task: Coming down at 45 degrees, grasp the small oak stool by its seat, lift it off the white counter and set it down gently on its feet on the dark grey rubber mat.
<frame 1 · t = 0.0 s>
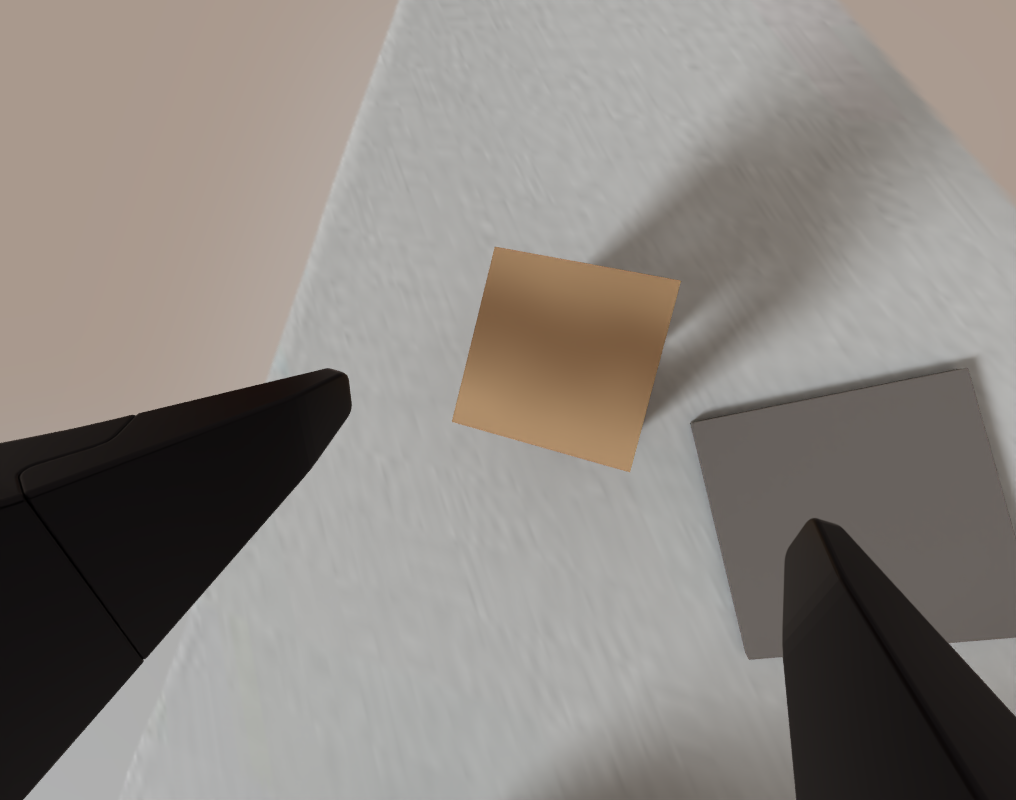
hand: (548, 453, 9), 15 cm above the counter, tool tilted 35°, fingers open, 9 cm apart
stool: (582, 373, 23), on the counter
mat: (846, 517, 21), on the counter
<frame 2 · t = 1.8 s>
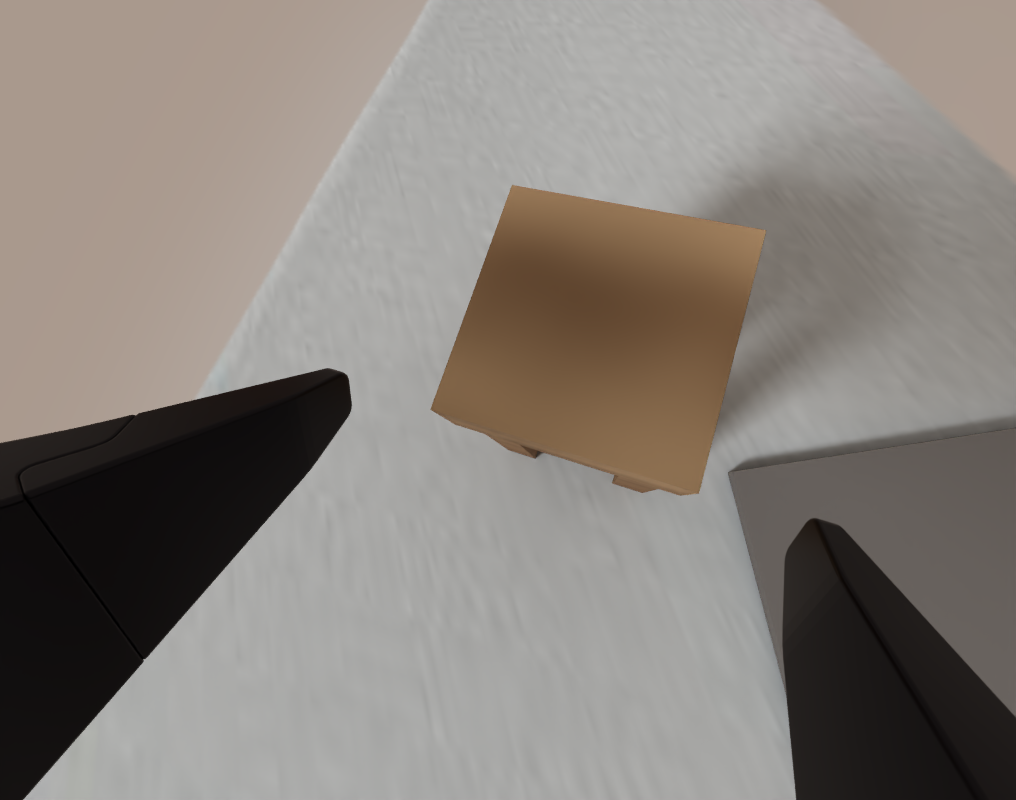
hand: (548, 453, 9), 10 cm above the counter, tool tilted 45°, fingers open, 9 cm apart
stool: (592, 405, 19), on the counter
mat: (940, 609, 15), on the counter
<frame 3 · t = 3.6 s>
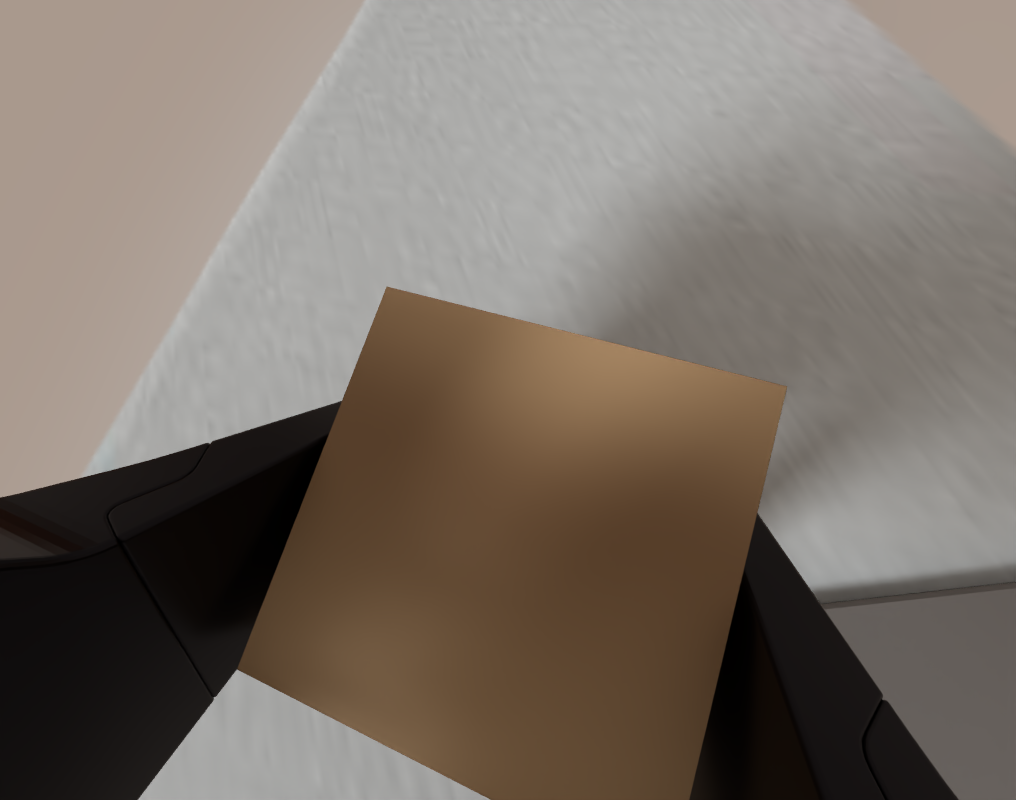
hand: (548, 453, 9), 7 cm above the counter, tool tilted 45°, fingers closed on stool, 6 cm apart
stool: (553, 514, 15), on the counter, touching gripper
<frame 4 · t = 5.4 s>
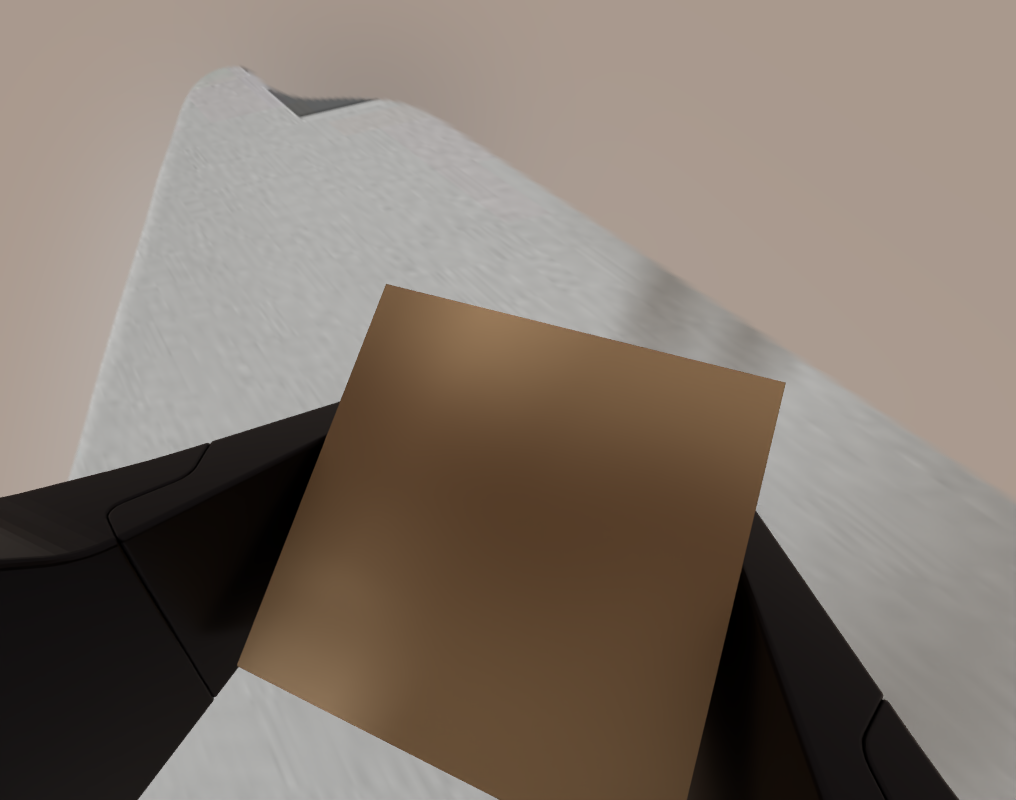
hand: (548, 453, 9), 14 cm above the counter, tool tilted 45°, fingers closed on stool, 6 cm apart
stool: (553, 513, 15), point 7 cm above the counter, touching gripper
when the fingers open (8 cm above the counter, at t = 7.3 s): stool stays where it is, resting on mat.
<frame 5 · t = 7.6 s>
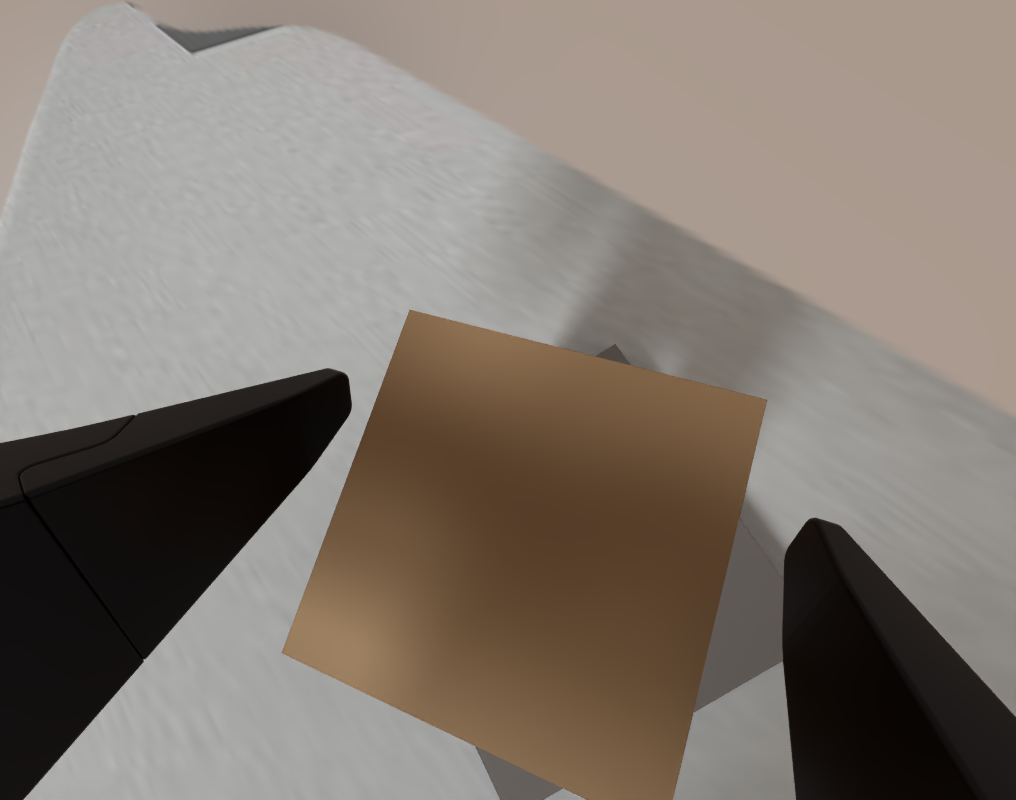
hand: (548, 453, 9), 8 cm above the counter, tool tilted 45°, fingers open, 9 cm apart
stool: (557, 514, 16), point 1 cm above the counter, touching mat
mat: (567, 559, 16), on the counter
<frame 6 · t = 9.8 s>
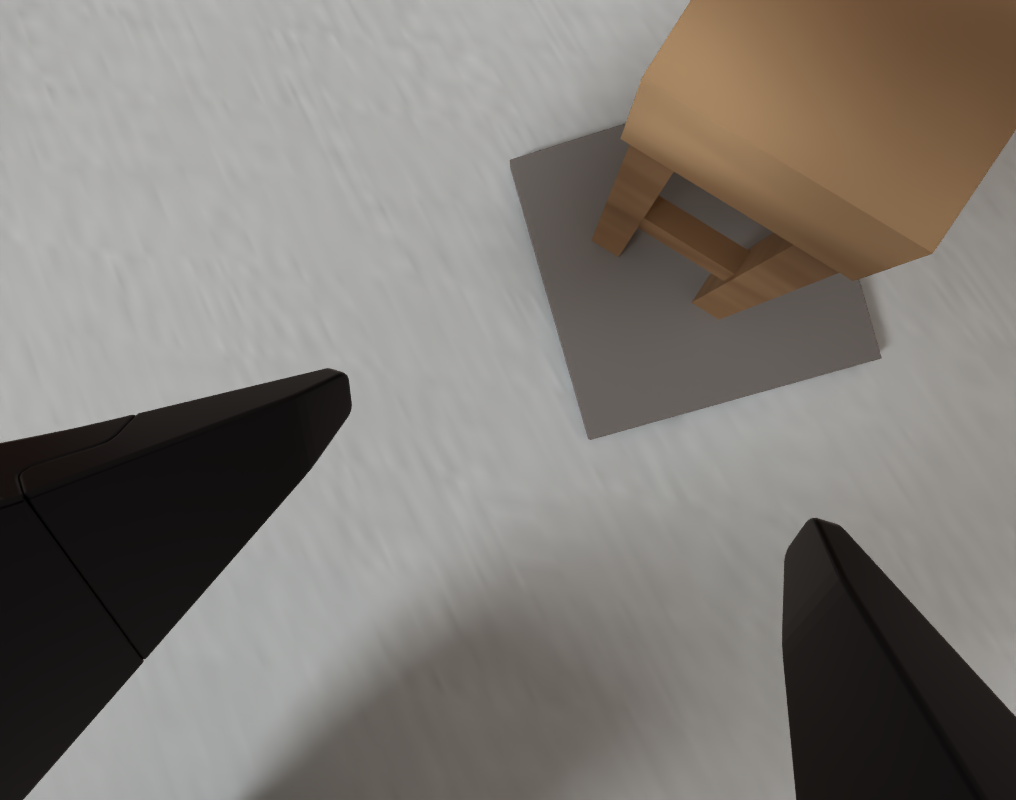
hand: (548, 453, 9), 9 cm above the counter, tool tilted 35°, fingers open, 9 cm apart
stool: (696, 215, 17), point 1 cm above the counter, touching mat
mat: (687, 262, 18), on the counter
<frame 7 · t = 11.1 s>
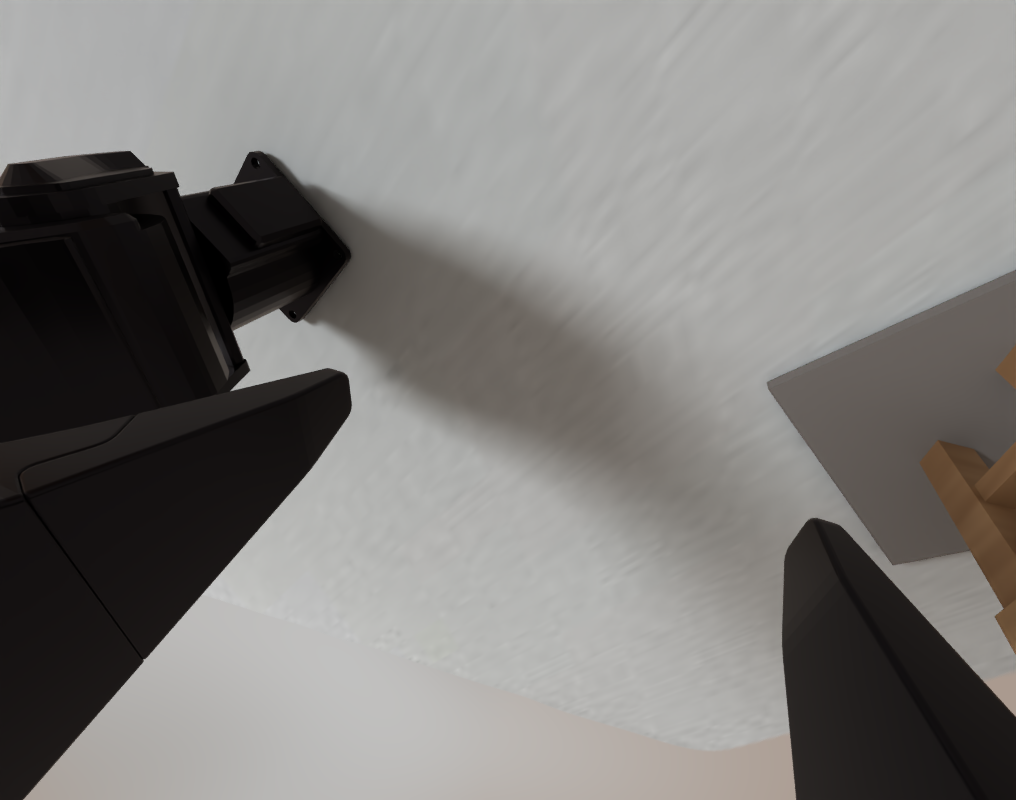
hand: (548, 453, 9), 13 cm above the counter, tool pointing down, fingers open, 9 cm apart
mat: (989, 424, 18), on the counter
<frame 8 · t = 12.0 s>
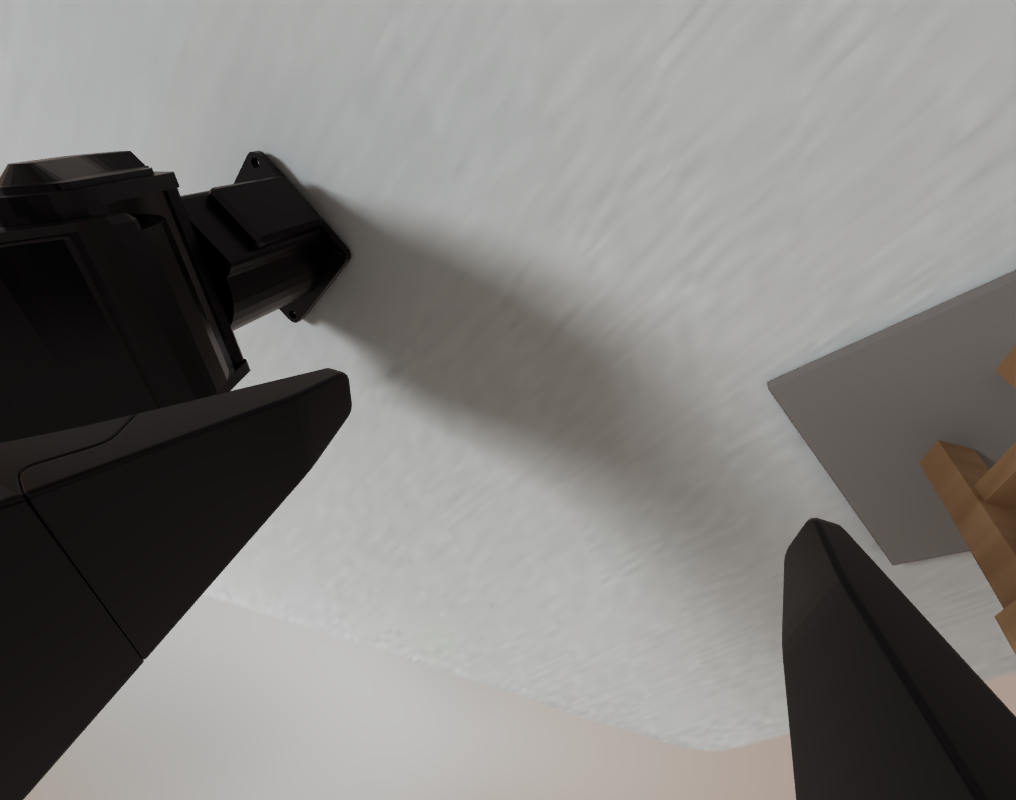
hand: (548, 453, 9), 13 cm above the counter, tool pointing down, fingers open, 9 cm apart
mat: (989, 424, 18), on the counter
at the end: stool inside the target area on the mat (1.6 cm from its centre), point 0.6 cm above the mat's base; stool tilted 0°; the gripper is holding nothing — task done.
